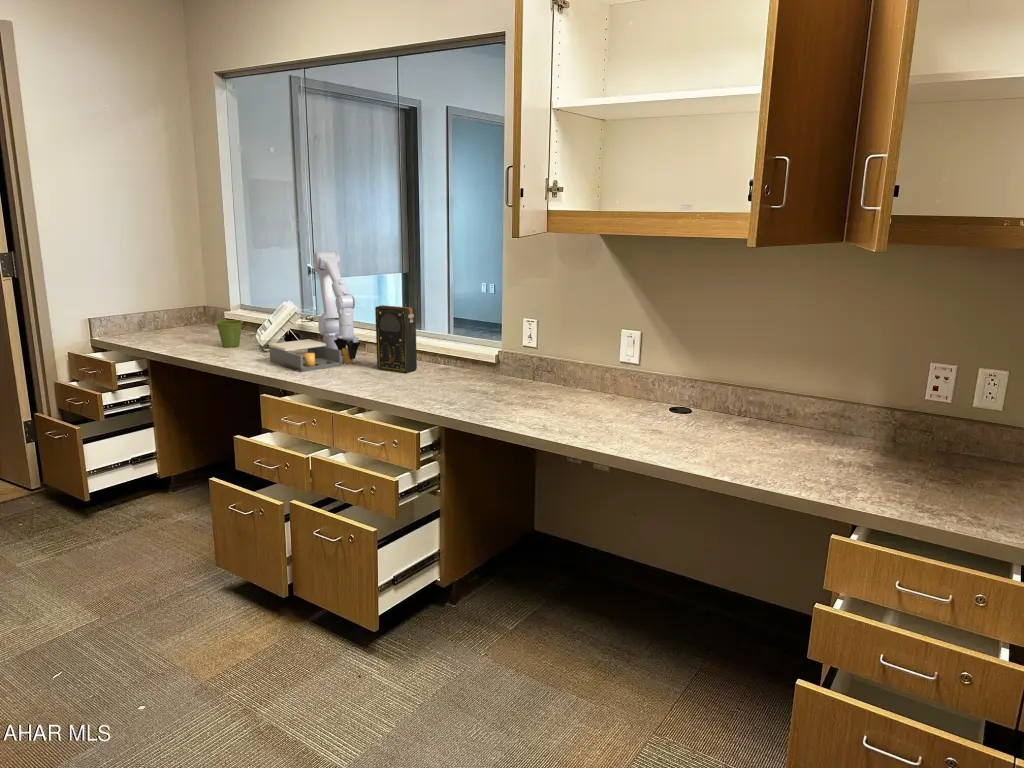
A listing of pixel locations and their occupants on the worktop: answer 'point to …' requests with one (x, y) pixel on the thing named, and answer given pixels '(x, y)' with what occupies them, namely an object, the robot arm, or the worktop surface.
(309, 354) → the orange rounded cylinder
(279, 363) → the housing
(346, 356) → the peg
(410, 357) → the voltmeter
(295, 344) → the lid
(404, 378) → the worktop surface
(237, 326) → the plant pot
